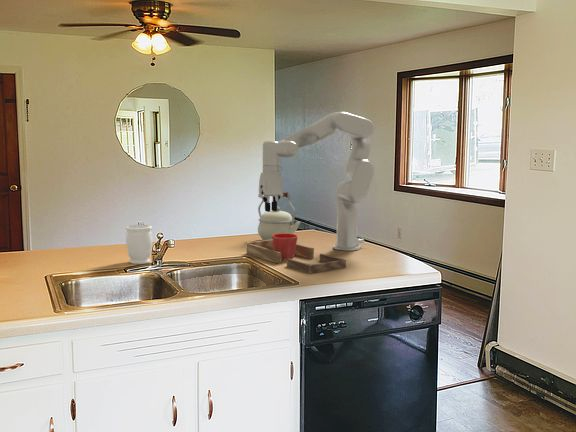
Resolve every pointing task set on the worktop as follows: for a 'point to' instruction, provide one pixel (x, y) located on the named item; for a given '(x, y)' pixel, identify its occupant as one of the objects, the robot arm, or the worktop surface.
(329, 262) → the bay
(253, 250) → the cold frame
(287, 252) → the flower pot
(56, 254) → the worktop surface
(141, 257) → the jar
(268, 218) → the kettle
